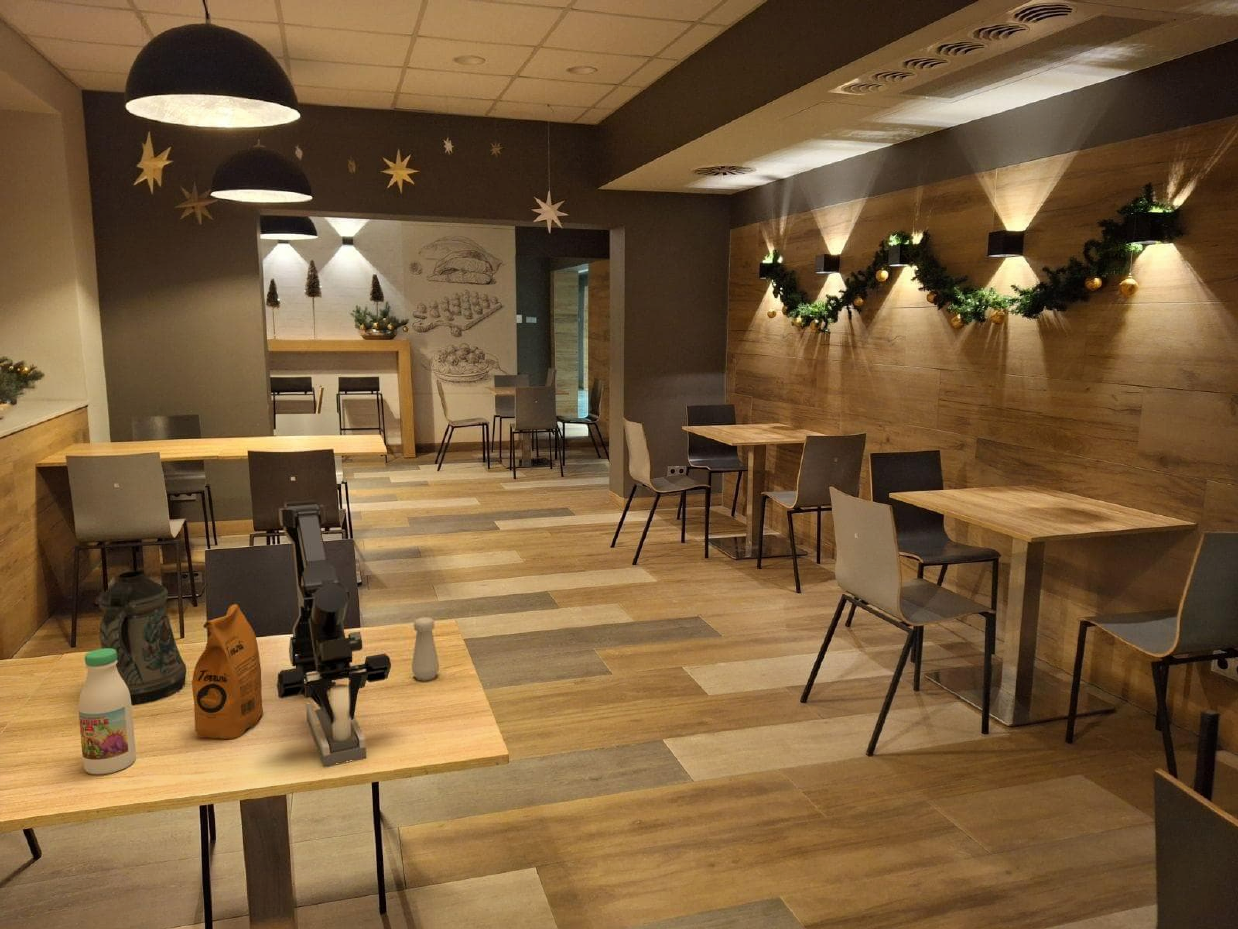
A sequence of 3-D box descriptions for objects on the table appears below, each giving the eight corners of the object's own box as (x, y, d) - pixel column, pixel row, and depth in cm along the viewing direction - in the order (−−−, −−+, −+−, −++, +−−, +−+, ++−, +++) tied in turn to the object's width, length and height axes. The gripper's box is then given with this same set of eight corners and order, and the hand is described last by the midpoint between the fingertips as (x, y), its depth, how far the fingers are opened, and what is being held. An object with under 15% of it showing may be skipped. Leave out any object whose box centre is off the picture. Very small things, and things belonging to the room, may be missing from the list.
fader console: (307, 721, 162) (306, 703, 162) (345, 714, 166) (344, 696, 165) (324, 767, 145) (323, 746, 144) (366, 758, 148) (365, 737, 148)
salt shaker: (432, 683, 181) (430, 624, 179) (407, 681, 182) (405, 622, 180) (443, 673, 186) (442, 615, 185) (419, 671, 188) (417, 614, 186)
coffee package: (185, 740, 155) (176, 623, 152) (222, 711, 167) (215, 602, 164) (238, 742, 154) (230, 624, 151) (271, 713, 166) (265, 603, 163)
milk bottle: (98, 755, 149) (88, 645, 146) (144, 753, 150) (135, 643, 147) (74, 777, 142) (63, 661, 139) (123, 775, 142) (113, 659, 140)
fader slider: (327, 743, 149) (324, 686, 148) (353, 737, 151) (350, 681, 150) (331, 752, 146) (328, 694, 144) (357, 747, 148) (355, 689, 146)
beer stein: (182, 669, 189) (174, 559, 185) (194, 699, 172) (185, 579, 169) (94, 685, 180) (84, 570, 176) (98, 719, 164) (87, 592, 160)
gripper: (275, 626, 145) (286, 712, 136) (386, 610, 153) (403, 691, 145) (272, 655, 153) (283, 739, 144) (378, 639, 161) (394, 717, 153)
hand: (342, 720), depth 147 cm, fingers closed on fader slider, 3 cm apart
